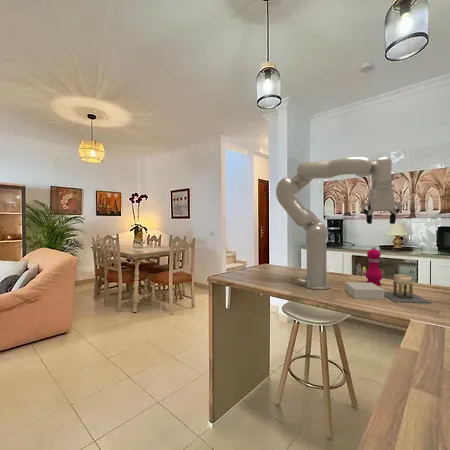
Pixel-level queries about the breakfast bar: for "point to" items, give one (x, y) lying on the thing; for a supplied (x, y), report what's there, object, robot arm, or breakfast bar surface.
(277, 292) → the breakfast bar surface
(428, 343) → the breakfast bar surface
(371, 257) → the pepper mill
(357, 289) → the step
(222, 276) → the breakfast bar surface
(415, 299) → the mat
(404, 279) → the stool
